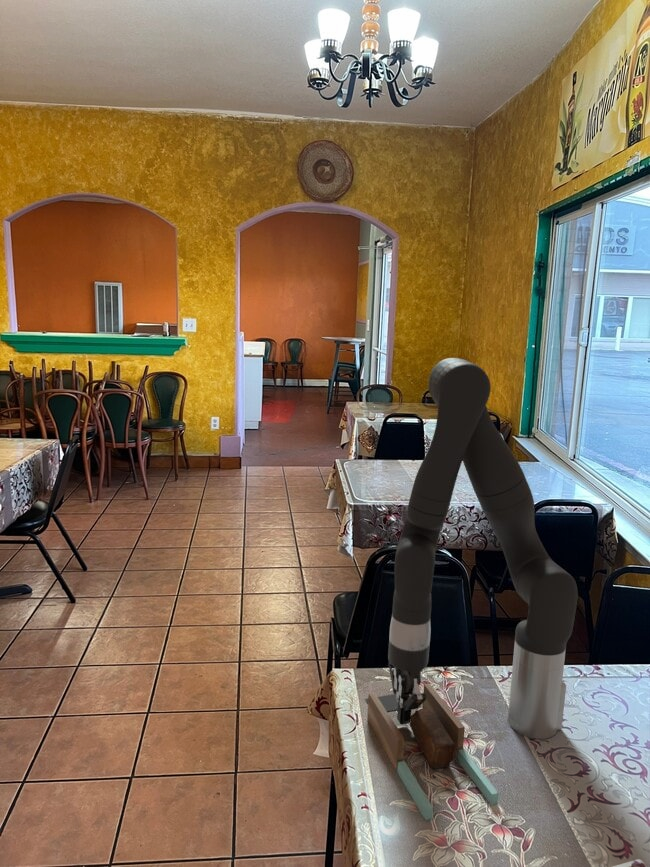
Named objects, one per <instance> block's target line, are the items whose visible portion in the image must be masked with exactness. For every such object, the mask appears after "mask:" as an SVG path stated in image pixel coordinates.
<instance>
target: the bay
mask: <svg viewBox="0 0 650 867" xmlns="http://www.w3.org/2000/svg"><path fill="white" fill-rule="evenodd" d="M457 761H458V762H459V764H460V765H461V767H462V768H463V769H464V771H465V772H466V773H467V775H468V776H469V777H470V779H471V780H472V781H473V783H474V784H475V785H476V787H477V788H478V790H479V791H480V792H481V794H482V795H483V796H484V798H485V799H486V800H487V802H488V804H490V805H491V806H494V805H498V804H499V792H498V791H497V789H496V788H495V787H494V785H493V783H492V782H491V781H490V780H489V778H488V777H487V776H486V775H485V773H484V771H483V770H482V769H481V768H480V767H479V766H478V764H477V763H476V762H475V760H474V759H473V758H472V757H471V755H470V754H469V752H468V751H467V750H466V749H465V748H463V749H461V750H459V751H458V758H457ZM396 772H397V774H398V776H399V777H400V780H401V781H402V783H403V785H404V787H405V788H406V790H407V791H408V793H409V795H410V796H411V797H412V800H413V802H414V803H415V805H416V807H417V808H418V810H419V812H420V813H421V815H422V817H423V818H424V820H425V821H428V820H433V818H434V806H433V805H432V804H431V801H430V800H429V799H428V797H427V795H426V794H425V792H424V790H423V789H422V788H421V786H420V784H419V782H418V781H417V779H416V777H415V776H414V774H413V773H412V771H411V770H410V768H409V766H408V765H407V763H406V761H405V760H403V761H401V762H398V770H396Z"/></svg>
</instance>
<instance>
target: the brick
mask: <svg viewBox="0 0 650 867" xmlns="http://www.w3.org/2000/svg"><path fill="white" fill-rule="evenodd" d="M409 727H410V729H411V731H412V733H413V734H412V735H413V736H414V738H415V740H416V742H417V744H418V746H419V747H420V749H421V750H422V753H423V755H424V756H425V758H426V760H427V762H428V764H429V766H430V767H431V768H432V769H437V768H446V767H447V768H448V767H450V765H451V763H452V761H453V759H454V756H455V755H454V750H455V746H454V743H453V741H452V740H451V738H450V737H449V735H448V733H447V732H446V730H445V729H444V727H443V725H442V724H441V722H440V721H439V719H438V718H437V716H436V715H435V713H434V712H431V711H429V710H426V709H422V708H420V709H419V708H418V709H416V710H415V711H414V713H413V714H411V721H410V723H409Z"/></svg>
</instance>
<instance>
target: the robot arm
mask: <svg viewBox="0 0 650 867" xmlns="http://www.w3.org/2000/svg"><path fill="white" fill-rule="evenodd" d="M428 377H429V378H428V391H429V394H430V397H431V399H432V401H433V402H434V403H435V405H436V406H437V416H436V423H435V427H434V428H435V429H434V433H433V437H432V439H431V443H430V445H429V448H428V449H427V452H426V454H425V456H424V458H423V460H422V462H421V464H420V466H419V468H418V470H417V473H416V475H415V479H414V481H413V485H412V489H411V493H410V497H409V500H408V505H407V511H406V518H405V521H404V523H403V526H402V530H401V533H400V537H399V541H398V544H397V547H396V552H395V555H394V556H395V557H394V591H393V597H392V610H391V611H392V613H391V620H390V625H389V635H388V636H389V637H388V638H389V640H388V651H387V652H388V654H387V659H388V669H389V675H390V680H391V681H390V682H391V686H392V693H393V694H396V700H397V702H398V710H396V711H397V713H396V714H397V716H396V720H397V721H398V723H399V725H407V724H410V722H411V715H412V710H419V708H420V707H421V705H423V702H424V701H425V700H426V694H425V693H423V692H421V689H420V686H421V683H422V679H421V672H422V671H423V670H425V668H426V667H428V664H429V658H430V657H429V656H430V654H429V653H430V642H431V633H432V632H431V631H432V630H431V629H432V628H431V627H432V626H431V617H432V616H431V614H432V601H433V600H432V593H431V592H432V587H433V580H434V573H435V565H436V552H437V546H438V542H439V538H440V533H441V529H442V527H443V526H444V524H445V521H446V519H447V515H448V512H449V508H450V506H451V501H452V497H453V493H454V490H455V486H456V482H457V479H458V474H459V471H460V468H461V466H462V463H463V465H464V468H465V471H466V474H467V476H468V478H469V481H470V484H471V486H472V490H473V491H474V494H475V496H476V498H477V500H478V502H479V505H480V507H481V509H482V511H483V513H484V515H485V518H486V519H487V523H488V524H489V526H490V527H491V530H492V532H493V533H494V536H495V537H496V539H497V541H498V543H499V545H500V546H501V549H502V551H503V555H504V559H505V561H506V565H507V567H508V571H509V575H510V578H511V580H512V584H513V586H514V589H515V591H516V593H517V594H518V595H519V597H521V599H522V600H523V601H524V602H525V603H526V604H527V605H528V610H527V611H528V612H527V618H526V619H524V620H522V621H520V622H518V624H517V625H516V627H515V632H514V633H515V636H514V646H513V657H512V658H513V659H512V669H511V679H510V680H511V681H510V689H509V690H510V691H509V702H508V710H507V711H508V713H507V721H508V724H509V726H510V727H511V728H512V729H513V730H514V731H515V732H517V733H519V734H520V735H522V736H525V737H527V738H531V739H537V740H545V739H549V738H551V737H554V736H555V735H556V734H557V732H558V731H561V730H562V729H563V720H564V711H565V701H566V691H567V685H566V683H565V682H564V681H563V679H564V678H563V677H564V669H565V658H566V649H567V643H568V641H569V639H570V638H571V636H572V633H573V628H574V624H575V616H576V610H577V605H578V595H579V594H578V593H579V592H578V591H579V590H578V586H577V583H576V579H575V578H574V577H573V576H572V575H571V574H570V573H568V572H567V571H566V569H563V568H562V567H561V566H560V565H558V564H557V563H556V562H555V561H554V560H553V559H552V558H551V557H550V556H549V554H548V552H547V551H546V549H545V547H544V545H543V543H542V541H541V539H540V537H539V534H538V532H537V530H536V524H535V501H534V497H533V492H532V490H531V488H530V485H529V482H528V480H527V478H526V475H525V473H524V471H523V469H522V467H521V465H520V463H519V461H518V460H517V458H516V456H515V455H514V453H513V451H512V449H510V447H509V445H508V444H507V442H506V441H505V439H504V438H503V436H502V435H501V434H500V432H499V431H498V429H497V427H496V426H495V424H494V422H493V420H492V418H491V416H490V414H489V411H488V407H487V403H488V401H489V397H490V395H491V380H490V378H489V375H488V374H487V373H486V371H485V370H484V369H483V368H481V367H480V366H479V365H477V364H475V363H472V362H470V361H468V360H467V359H462V358H458V357H449V358H448V357H447V358H445V359H442V360H440V361H438V362H437V364H435V365H434V366H433V368H432V370H431V371H430V373H429V376H428Z"/></svg>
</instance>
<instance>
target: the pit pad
mask: <svg viewBox="0 0 650 867" xmlns="http://www.w3.org/2000/svg"><path fill="white" fill-rule="evenodd" d="M377 697H378V699H379V700H380V702H381V703H382V705H383V706H384V708H385V709H386V711H387V713H390V712H396V711H398V702H397V700H396V694H394V693H393V694H387V695H380V696H377ZM364 701H365V702H366V703H367V704H368V698H365V699H364Z"/></svg>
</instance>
